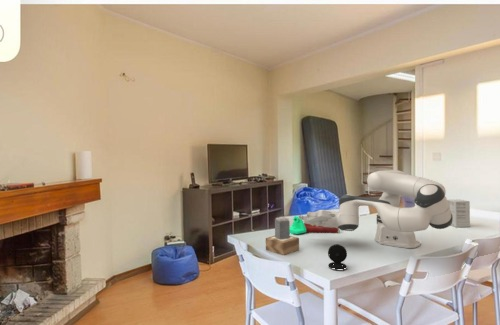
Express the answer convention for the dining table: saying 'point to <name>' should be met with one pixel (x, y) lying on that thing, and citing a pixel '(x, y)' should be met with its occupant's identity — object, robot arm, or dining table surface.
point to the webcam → (337, 256)
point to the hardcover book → (319, 229)
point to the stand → (282, 245)
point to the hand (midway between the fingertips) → (303, 215)
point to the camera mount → (297, 226)
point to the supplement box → (460, 212)
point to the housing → (282, 228)
